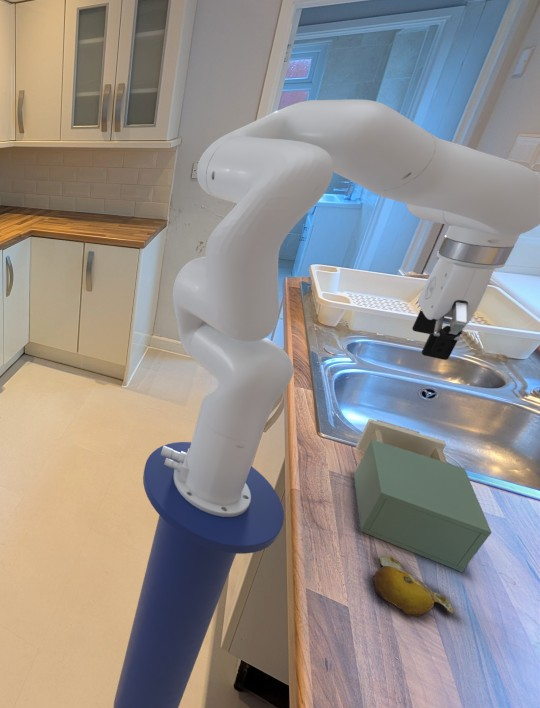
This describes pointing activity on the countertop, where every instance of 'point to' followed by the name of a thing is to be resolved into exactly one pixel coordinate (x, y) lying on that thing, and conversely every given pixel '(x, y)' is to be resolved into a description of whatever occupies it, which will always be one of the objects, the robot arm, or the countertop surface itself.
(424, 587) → the fruit
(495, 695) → the countertop surface
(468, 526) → the cabinet
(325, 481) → the countertop surface
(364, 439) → the drawer
